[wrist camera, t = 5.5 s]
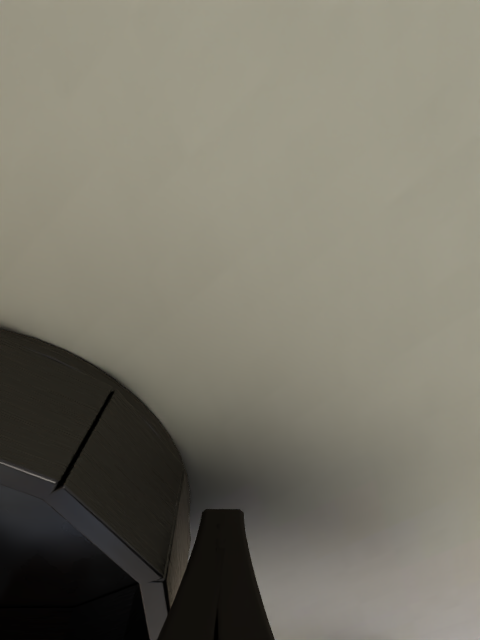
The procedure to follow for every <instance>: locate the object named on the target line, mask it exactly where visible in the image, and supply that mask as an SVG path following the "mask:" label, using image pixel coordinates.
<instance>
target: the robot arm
mask: <svg viewBox="0 0 480 640" xmlns="http://www.w3.org/2000/svg"><path fill="white" fill-rule="evenodd" d="M157 640H275V639H274V636H273V633H272V631H271V628H270V625H269V622H268V618H267V615H266V612H265V609H264V606H263V602H262V599H261V595H260V592H259V588H258V585H257V581H256V578H255V574H254V570H253V566H252V562H251V557H250V553H249V549H248V543H247V538H246V532H245V525H244V513H243V512H242V511H241V510H240V509H206V510H205V511H203V512H202V517H201V522H200V526H199V530H198V533H197V537H196V540H195V544H194V547H193V550H192V553H191V556H190V559H189V562H188V565H187V567H186V570H185V573H184V575H183V578H182V580H181V583H180V586H179V588H178V591H177V594H176V596H175V599H174V601H173V604H172V606H171V608H170V611H169V613H168V615H167V618H166V620H165V622H164V624H163V627H162V629H161V631H160V634H159V636H158V638H157Z"/></svg>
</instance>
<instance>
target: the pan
mask: <svg viewBox="0 0 480 640" xmlns="http://www.w3.org/2000/svg"><path fill="white" fill-rule="evenodd" d="M189 513H190V488H189V482H188V477H187V473H186V470H185V467H184V464H183V462H182V459H181V456H180V454H179V452H178V450H177V448H176V446H175V445H174V443H173V441H172V439H171V437H170V436H169V434H168V433H167V432H166V430H165V429H164V428H163V426H162V425H161V423H160V422H159V421H158V419H157V418H156V417H155V416H154V415H153V414H152V413H151V412H150V411H149V410H148V408H147V407H146V406H145V405H144V404H143V403H142V402H141V401H140V400H139V399H138V398H137V397H135V396H134V395H133V394H132V393H131V392H129V391H128V390H127V389H126V388H125V387H123V386H122V385H121V384H120V383H119V382H117V381H116V380H114V379H113V378H111V377H110V376H108V375H107V374H105V373H104V372H102V371H101V370H99V369H98V368H96V367H95V366H93V365H91V364H90V363H88V362H86V361H84V360H82V359H80V358H78V357H76V356H74V355H72V354H70V353H68V352H66V351H64V350H62V349H59V348H57V347H54V346H52V345H49V344H47V343H44V342H42V341H39V340H37V339H34V338H30V337H27V336H23V335H20V334H16V333H13V332H9V331H5V330H2V329H0V640H157V638H158V636H159V634H160V631H161V629H162V627H163V624H164V622H165V620H166V618H167V615H168V613H169V611H170V608H171V606H172V604H173V601H174V599H175V596H176V594H177V591H178V588H179V586H180V583H181V580H182V578H183V575H184V573H185V570H186V567H187V564H188V556H189V549H190V541H191V537H190V525H189Z"/></svg>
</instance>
